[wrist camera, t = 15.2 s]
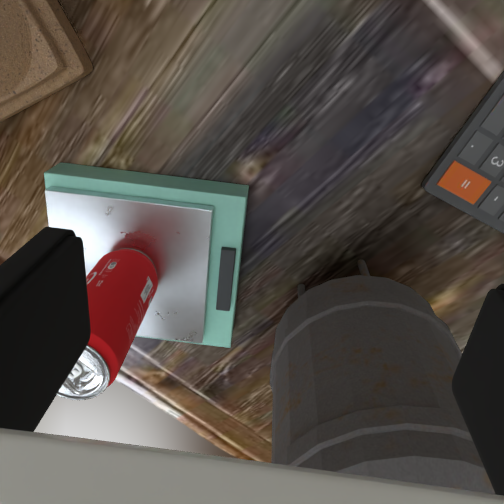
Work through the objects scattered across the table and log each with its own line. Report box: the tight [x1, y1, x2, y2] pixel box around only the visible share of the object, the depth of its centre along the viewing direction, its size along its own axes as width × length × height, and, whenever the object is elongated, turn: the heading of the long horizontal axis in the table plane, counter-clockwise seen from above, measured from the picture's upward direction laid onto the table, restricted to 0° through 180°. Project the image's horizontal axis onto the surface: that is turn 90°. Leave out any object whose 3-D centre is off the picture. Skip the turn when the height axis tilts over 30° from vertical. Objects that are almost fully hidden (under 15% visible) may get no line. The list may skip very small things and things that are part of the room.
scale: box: [44, 163, 249, 348], centre depth 40 cm, size 16×15×4 cm
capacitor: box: [270, 260, 496, 495], centre depth 29 cm, size 14×14×30 cm
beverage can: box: [57, 249, 158, 400], centre depth 32 cm, size 5×5×12 cm
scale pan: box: [45, 186, 214, 344], centre depth 38 cm, size 13×13×1 cm
